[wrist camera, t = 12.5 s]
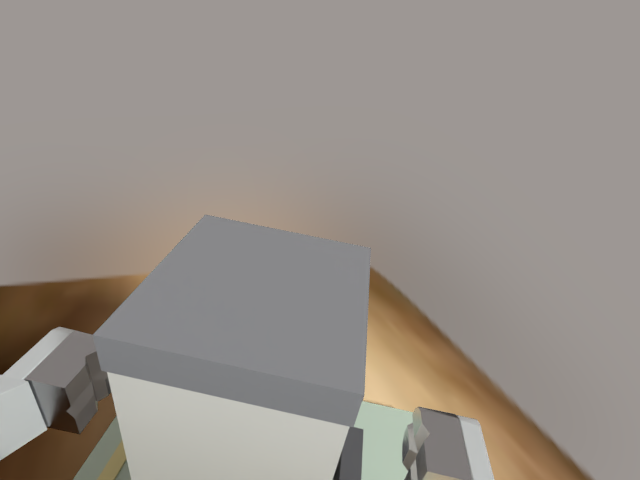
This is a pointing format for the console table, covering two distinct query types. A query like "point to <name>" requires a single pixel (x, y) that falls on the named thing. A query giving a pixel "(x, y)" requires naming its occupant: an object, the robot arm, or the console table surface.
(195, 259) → the plug
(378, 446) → the board
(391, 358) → the console table surface
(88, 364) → the robot arm
